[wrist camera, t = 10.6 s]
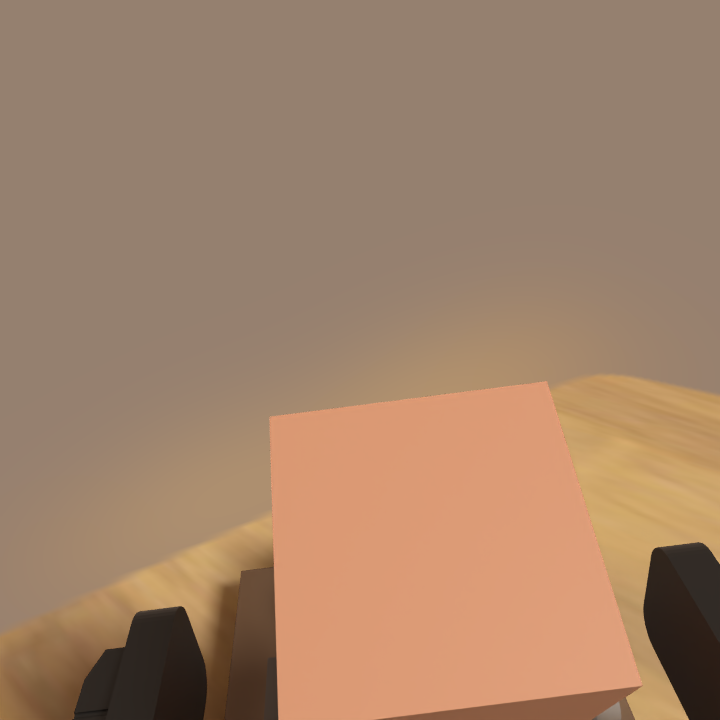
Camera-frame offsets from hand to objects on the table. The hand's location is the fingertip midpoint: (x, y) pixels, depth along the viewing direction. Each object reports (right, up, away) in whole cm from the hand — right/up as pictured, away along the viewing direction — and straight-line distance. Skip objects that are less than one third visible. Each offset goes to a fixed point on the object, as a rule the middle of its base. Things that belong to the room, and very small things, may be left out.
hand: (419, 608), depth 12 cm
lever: (+1, -5, +6) cm, 8 cm away
